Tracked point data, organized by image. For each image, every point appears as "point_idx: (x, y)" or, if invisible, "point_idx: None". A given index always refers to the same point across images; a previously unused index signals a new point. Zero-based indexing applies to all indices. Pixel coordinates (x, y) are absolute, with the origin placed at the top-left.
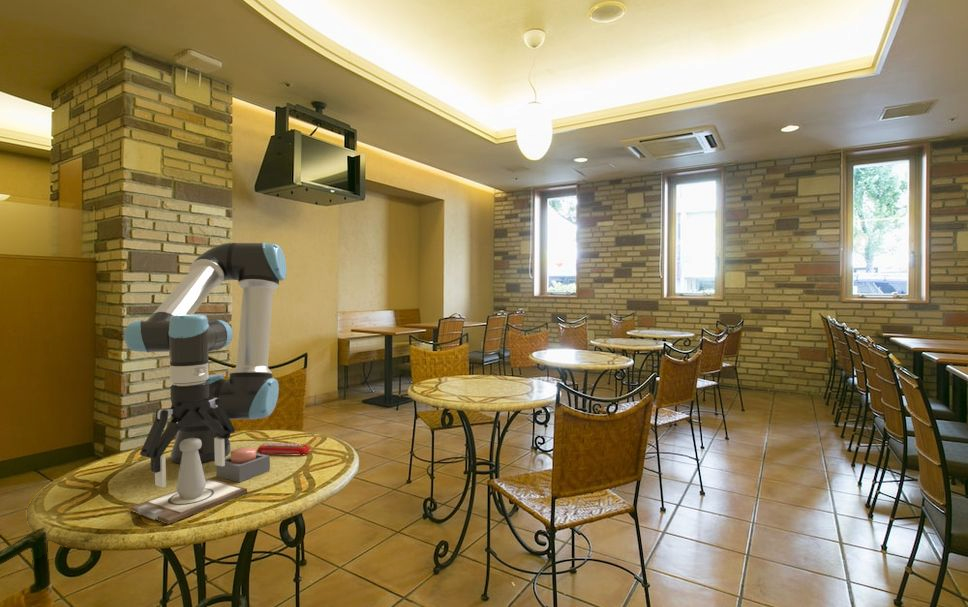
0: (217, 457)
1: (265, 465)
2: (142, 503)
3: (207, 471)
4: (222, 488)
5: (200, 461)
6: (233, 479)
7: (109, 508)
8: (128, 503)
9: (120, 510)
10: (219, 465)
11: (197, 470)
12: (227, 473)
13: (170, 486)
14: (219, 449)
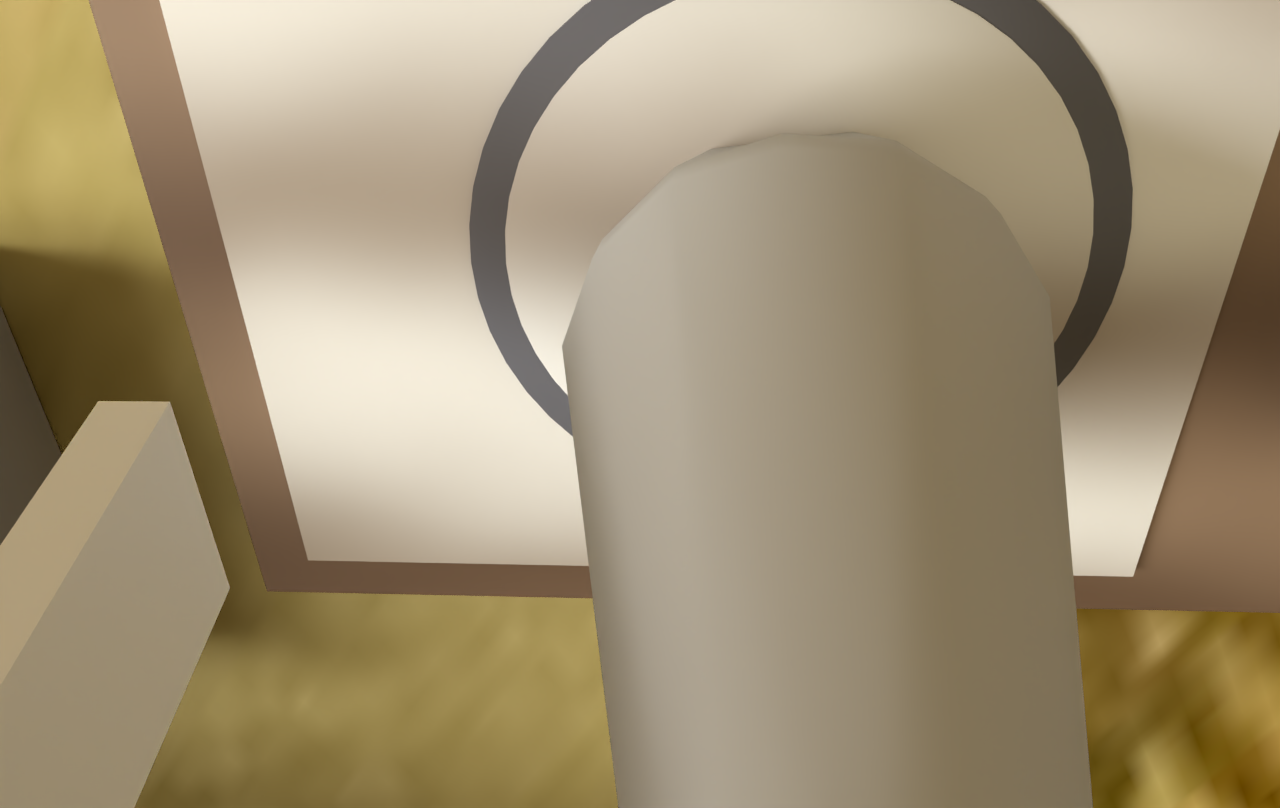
0: (142, 653)
1: None
2: (1176, 590)
3: (155, 800)
4: (331, 119)
5: (674, 620)
6: (17, 378)
7: (1246, 773)
8: (1093, 741)
9: (1267, 667)
10: (190, 475)
11: (835, 416)
12: None
13: (607, 771)
14: (16, 785)
